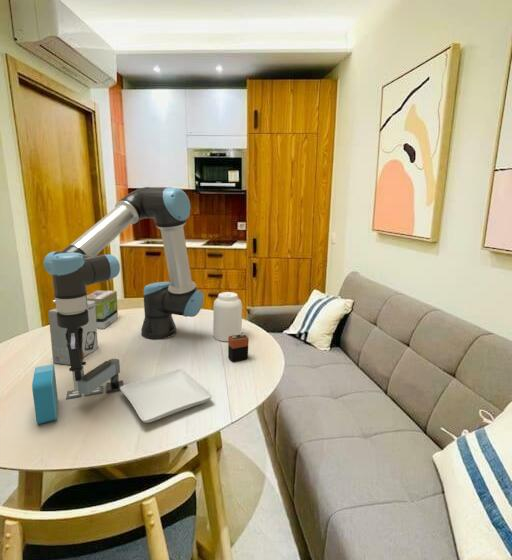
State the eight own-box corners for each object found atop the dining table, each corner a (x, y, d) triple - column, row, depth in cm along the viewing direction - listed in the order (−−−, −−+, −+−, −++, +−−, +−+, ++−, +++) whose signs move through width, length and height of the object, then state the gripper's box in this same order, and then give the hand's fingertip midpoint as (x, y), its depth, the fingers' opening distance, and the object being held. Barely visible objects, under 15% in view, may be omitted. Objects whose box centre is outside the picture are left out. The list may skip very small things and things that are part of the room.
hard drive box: (70, 366, 119) (65, 313, 114) (52, 363, 120) (46, 310, 116) (99, 348, 134) (95, 300, 129) (82, 346, 135) (78, 299, 131)
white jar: (230, 344, 141) (231, 299, 137) (207, 337, 148) (207, 294, 143) (246, 335, 152) (247, 293, 147) (224, 329, 158) (225, 288, 153)
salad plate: (181, 375, 116) (181, 366, 115) (213, 405, 100) (213, 394, 99) (118, 395, 103) (118, 385, 102) (143, 433, 87) (143, 421, 86)
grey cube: (123, 382, 109) (122, 369, 108) (123, 390, 105) (122, 376, 104) (106, 385, 108) (105, 371, 106) (106, 393, 103) (105, 379, 102)
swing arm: (112, 369, 107) (111, 354, 106) (122, 370, 106) (121, 356, 105) (78, 393, 93) (76, 377, 92) (88, 395, 92) (87, 379, 91)
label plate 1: (82, 390, 104) (81, 388, 104) (81, 396, 101) (81, 395, 101) (67, 392, 103) (67, 391, 103) (66, 399, 99) (65, 398, 99)
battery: (248, 359, 128) (249, 335, 126) (232, 362, 125) (232, 338, 123) (243, 354, 132) (244, 331, 130) (227, 358, 129) (228, 333, 127)
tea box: (105, 329, 153) (102, 298, 150) (83, 328, 153) (80, 297, 150) (118, 318, 168) (116, 290, 165) (98, 317, 168) (96, 289, 165)
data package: (40, 402, 97) (35, 365, 95) (57, 399, 99) (53, 362, 97) (37, 427, 87) (31, 385, 84) (57, 422, 89) (52, 381, 87)
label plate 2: (103, 386, 107) (103, 385, 107) (102, 393, 103) (102, 391, 103) (85, 389, 105) (85, 388, 105) (84, 396, 101) (84, 394, 101)
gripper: (59, 304, 94) (67, 379, 100) (52, 319, 83) (62, 403, 88) (88, 302, 97) (95, 375, 103) (86, 316, 86) (93, 398, 91)
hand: (79, 388), depth 96 cm, fingers closed
